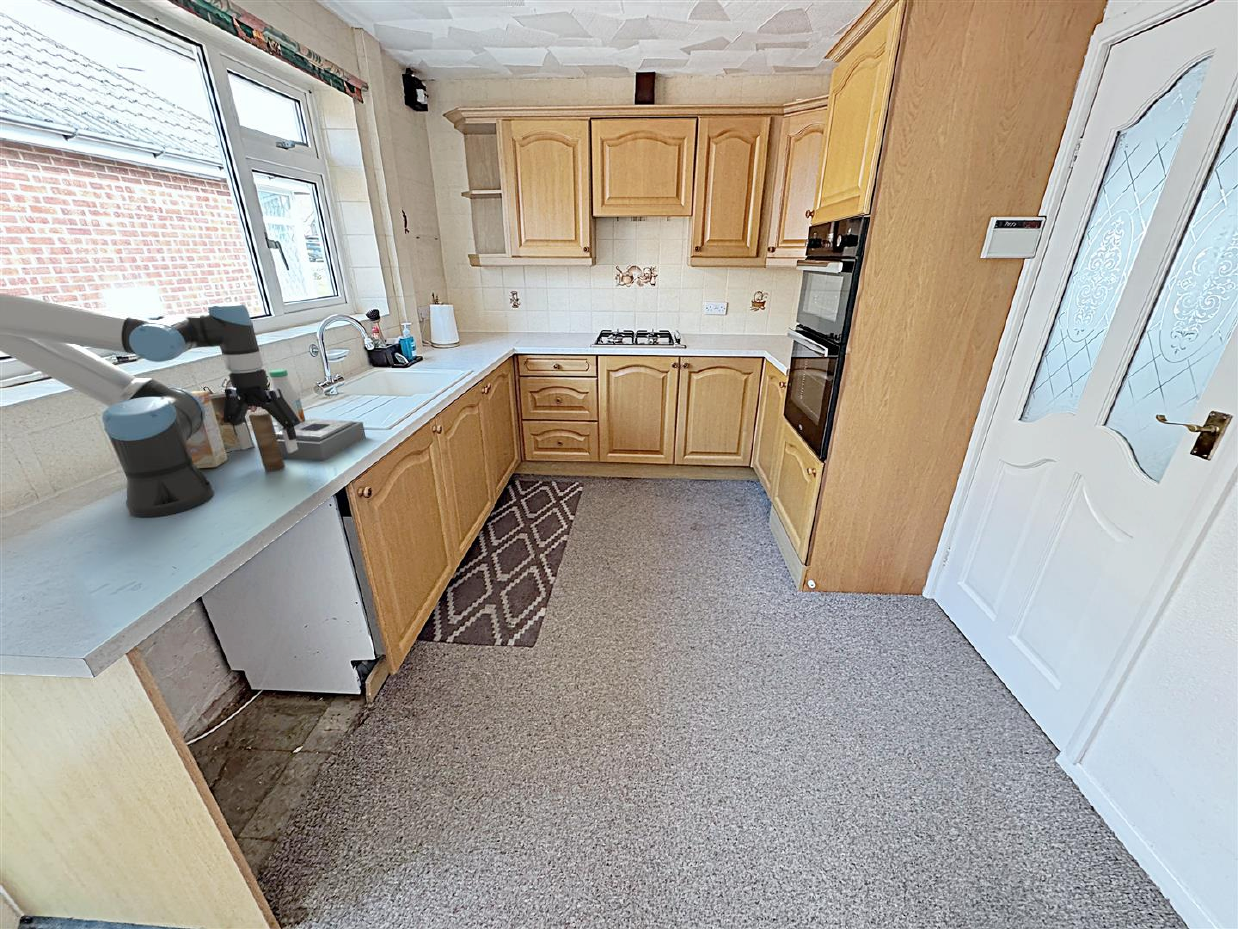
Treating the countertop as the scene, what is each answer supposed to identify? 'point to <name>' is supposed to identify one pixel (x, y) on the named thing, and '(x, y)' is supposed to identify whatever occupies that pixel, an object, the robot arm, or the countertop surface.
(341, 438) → the grey socket base
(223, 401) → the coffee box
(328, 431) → the bore block
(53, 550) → the countertop surface
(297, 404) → the milk bottle
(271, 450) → the peg
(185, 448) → the robot arm
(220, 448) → the coffeecake box
